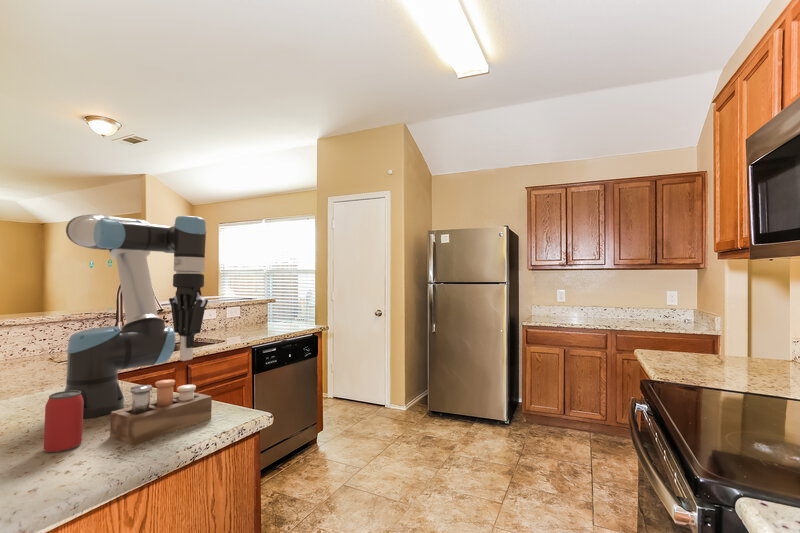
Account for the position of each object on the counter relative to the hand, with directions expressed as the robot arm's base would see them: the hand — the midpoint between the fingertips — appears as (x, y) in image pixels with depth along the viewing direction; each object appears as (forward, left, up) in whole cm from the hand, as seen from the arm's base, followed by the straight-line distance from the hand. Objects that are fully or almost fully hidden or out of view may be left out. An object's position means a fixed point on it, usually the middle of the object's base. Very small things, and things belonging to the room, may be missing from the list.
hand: (186, 359), depth 106 cm
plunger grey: (0, -12, -12) cm, 16 cm away
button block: (0, -6, -16) cm, 17 cm away
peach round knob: (0, -6, -12) cm, 13 cm away
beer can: (-8, -24, -17) cm, 30 cm away
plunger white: (0, 0, -14) cm, 14 cm away
